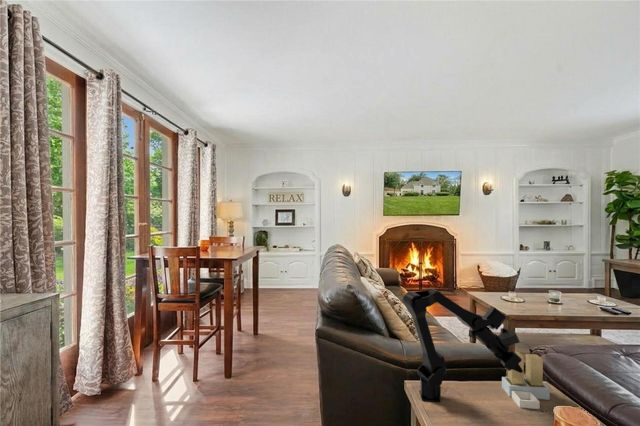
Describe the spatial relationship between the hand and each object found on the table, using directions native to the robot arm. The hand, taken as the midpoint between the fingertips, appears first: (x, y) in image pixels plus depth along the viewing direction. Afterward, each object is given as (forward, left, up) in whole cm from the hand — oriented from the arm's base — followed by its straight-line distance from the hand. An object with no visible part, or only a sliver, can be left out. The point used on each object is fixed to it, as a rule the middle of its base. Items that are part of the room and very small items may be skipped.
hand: (519, 369), depth 123 cm
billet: (-1, 0, -7) cm, 7 cm away
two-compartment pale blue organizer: (+2, 0, -9) cm, 9 cm away
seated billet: (+5, 0, -7) cm, 9 cm away
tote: (-1, -7, -9) cm, 11 cm away
